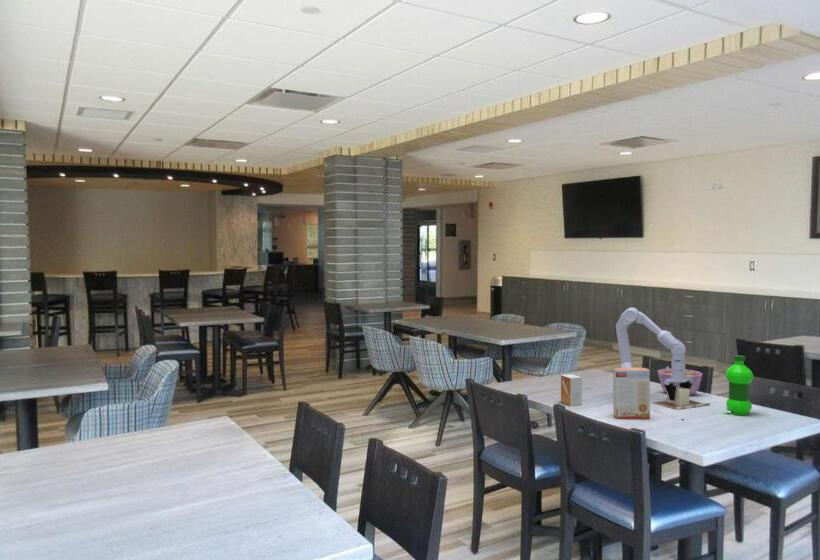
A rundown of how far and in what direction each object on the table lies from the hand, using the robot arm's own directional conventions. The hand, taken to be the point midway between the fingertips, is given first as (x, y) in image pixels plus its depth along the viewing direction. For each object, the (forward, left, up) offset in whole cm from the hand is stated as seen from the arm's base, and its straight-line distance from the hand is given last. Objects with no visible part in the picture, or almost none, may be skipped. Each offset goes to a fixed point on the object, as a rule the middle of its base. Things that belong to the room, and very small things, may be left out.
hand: (677, 399), depth 280 cm
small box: (-40, +25, -4) cm, 47 cm away
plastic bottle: (+14, -20, -4) cm, 25 cm away
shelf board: (0, -1, -3) cm, 4 cm away
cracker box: (-32, -5, -4) cm, 33 cm away
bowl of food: (+17, +15, -4) cm, 23 cm away
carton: (0, 0, -2) cm, 2 cm away
